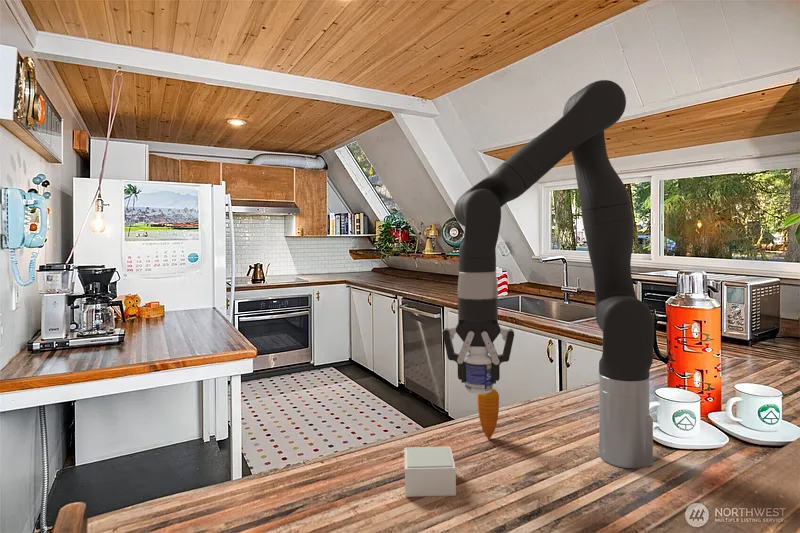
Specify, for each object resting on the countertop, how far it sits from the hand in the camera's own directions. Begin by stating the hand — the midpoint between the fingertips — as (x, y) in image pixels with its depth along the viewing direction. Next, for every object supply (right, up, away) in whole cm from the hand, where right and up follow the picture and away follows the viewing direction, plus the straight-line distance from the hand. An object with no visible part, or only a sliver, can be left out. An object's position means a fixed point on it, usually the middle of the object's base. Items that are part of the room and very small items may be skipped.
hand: (478, 381), depth 94 cm
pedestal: (-10, -18, -3) cm, 21 cm away
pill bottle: (0, -2, 0) cm, 2 cm away
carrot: (+5, -17, +16) cm, 24 cm away
